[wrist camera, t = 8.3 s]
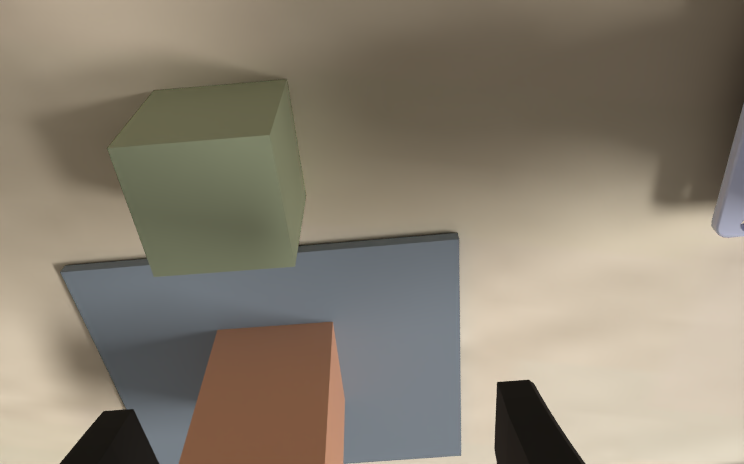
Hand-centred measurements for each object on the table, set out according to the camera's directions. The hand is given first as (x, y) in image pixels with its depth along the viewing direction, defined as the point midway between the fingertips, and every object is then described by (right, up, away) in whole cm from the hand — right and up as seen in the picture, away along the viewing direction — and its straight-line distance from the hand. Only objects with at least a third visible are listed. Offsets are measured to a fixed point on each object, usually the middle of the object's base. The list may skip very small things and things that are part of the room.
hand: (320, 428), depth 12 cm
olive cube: (-3, +7, +7) cm, 10 cm away
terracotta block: (-2, -1, +12) cm, 12 cm away
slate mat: (-2, -2, +12) cm, 13 cm away
